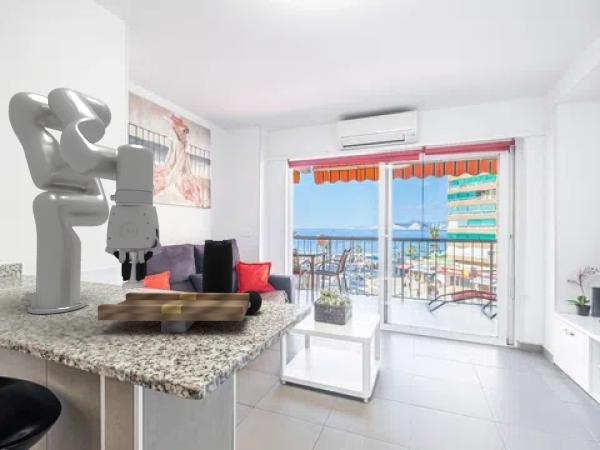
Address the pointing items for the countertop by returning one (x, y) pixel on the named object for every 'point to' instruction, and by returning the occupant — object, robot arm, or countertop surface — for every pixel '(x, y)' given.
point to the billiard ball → (254, 301)
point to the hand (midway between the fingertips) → (134, 279)
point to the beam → (177, 308)
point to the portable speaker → (217, 267)
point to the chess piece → (133, 273)
